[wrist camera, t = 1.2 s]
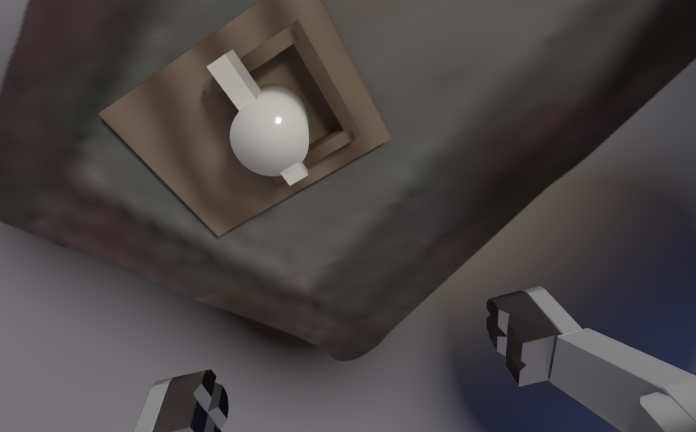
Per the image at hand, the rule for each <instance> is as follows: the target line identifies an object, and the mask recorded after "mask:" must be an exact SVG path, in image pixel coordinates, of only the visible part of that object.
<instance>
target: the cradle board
mask: <svg viewBox="0 0 696 432" xmlns="http://www.w3.org/2000/svg"><path fill="white" fill-rule="evenodd" d="M231 50H234V52H235V53H236V55H237V56H238V58H239V59H240V61H241V62H242V64H243V65H244V67H245V68H246V69H247V71H248V72H249V74H250V75H251V77H252V78H253V80H254V81H255V83H256V84H257V86H258V87H260V86H262V85H264V84H269V83H278V84H283V85H286V86H288V87H290V88H292V89H293V90H295V91H296V92H297V93H298V94H299V95H300V96H301V98H302V99H303V101H304V102H305V104H306V107H307V111H308V125H309V147H308V151H307V154H306V157H305V159H304V160H303V162H302V163H303V164H304V166H305V167H306V168H307V170H308V176H306V177H304V178H302V179H301V180H299V181H297V182H295V183H294V184H292V185H289V184H288V183H287V181H286V180H285V179H284V177H283V176H282V175H280V176H264V175H260V174H258V173H255V172H253V171H251V170H249V169H248V168H246V167H245V166H244V165H243V164H242V163H241V162H240V161H239V160H238V158H237V157H236V155H235V154H234V152H233V149H232V147H231V143H230V129H231V125H232V122H233V120H234V119H235V117H236V115H237V114H238V112H239V110H238V109H237V107H236V106H235V105H234V103H233V102H232V101H231V99H230V98H229V97H228V95H227V94H226V93H225V91H224V90H223V88H222V87H221V86H220V84H219V83H218V82H217V80H216V79H215V78H214V76H213V75H212V74H211V72H210V71H209V70H208V68H207V66H208V65H210V64H211V63H213V62H214V61H216V60H217V59H218V58H220V57H221V56H223V55H224V54H226V53H228V52H229V51H231ZM98 115H99V116H100V117H101V118H102V119H103V120H104V121H105V122H106V123H107V124H108V125H109V126H110V127H111V128H112V129H113V130H114V131H115V132H116V133H117V134H118V135H119V136H120V137H121V138H122V139H123V140H124V141H125V142H126V143H127V144H128V145H129V146H130V147H131V148H132V149H133V150H134V151H135V152H136V153H137V154H138V155H139V156H140V157H141V158H142V159H143V160H144V161H145V162H146V163H147V165H148V166H149V167H150V168H151V169H152V170H153V171H154V172H155V173H156V174H157V175H158V176H159V177H160V178H161V179H162V180H163V181H164V182H165V183H166V184H167V185H168V186H169V187H170V188H171V189H172V190H173V191H174V192H175V193H176V194H177V195H178V196H179V197H180V198H181V199H182V200H183V201H184V202H185V203H186V204H187V205H188V206H189V207H190V208H191V209H192V210H193V211H194V212H195V213H196V215H197V216H198V217H199V218H200V219H201V220H202V221H203V222H204V223H205V224H206V225H207V226H208V227H209V228H210V229H211V230H212V231H213V232H214V233H215V234H216V235H217V236H218V237H219V236H220V235H222V234H224V233H226V232H227V231H229V230H231V229H233V228H234V227H236V226H238V225H240V224H241V223H243V222H245V221H247V220H249V219H250V218H252V217H254V216H256V215H257V214H259V213H261V212H263V211H264V210H266V209H268V208H270V207H271V206H273V205H275V204H277V203H279V202H280V201H282V200H284V199H286V198H287V197H289V196H291V195H293V194H294V193H296V192H298V191H300V190H301V189H303V188H305V187H307V186H309V185H310V184H312V183H314V182H316V181H317V180H319V179H321V178H323V177H324V176H326V175H328V174H330V173H331V172H333V171H335V170H337V169H338V168H340V167H342V166H344V165H346V164H347V163H349V162H351V161H353V160H354V159H356V158H358V157H360V156H361V155H363V154H365V153H367V152H368V151H370V150H372V149H374V148H376V147H377V146H379V145H381V144H383V143H384V142H386V141H388V140H390V139H391V137H390V135H389V133H388V131H387V129H386V127H385V125H384V123H383V121H382V119H381V117H380V115H379V113H378V111H377V109H376V107H375V105H374V103H373V101H372V99H371V97H370V95H369V93H368V91H367V90H366V88H365V86H364V84H363V82H362V80H361V78H360V76H359V74H358V72H357V70H356V68H355V66H354V64H353V62H352V60H351V58H350V56H349V54H348V52H347V50H346V48H345V46H344V44H343V42H342V40H341V38H340V36H339V34H338V32H337V31H336V29H335V27H334V25H333V23H332V21H331V19H330V17H329V15H328V13H327V11H326V9H325V7H324V5H323V3H322V1H321V0H261V1H259V2H258V3H256V4H255V5H253V6H252V7H250V8H249V9H248V10H246V11H245V12H243V13H242V14H240V15H239V16H238V17H236V18H235V19H233V20H232V21H230V22H229V23H228V24H226V25H225V26H223V27H222V28H220V29H219V30H218V31H216V32H215V33H213V34H212V35H210V36H209V37H208V38H206V39H205V40H203V41H202V42H200V43H199V44H198V45H196V46H195V47H193V48H192V49H190V50H189V51H188V52H186V53H185V54H183V55H182V56H180V57H179V58H178V59H176V60H175V61H173V62H172V63H170V64H169V65H168V66H166V67H165V68H163V69H162V70H160V71H159V72H158V73H156V74H155V75H153V76H152V77H150V78H149V79H148V80H146V81H145V82H143V83H142V84H140V85H139V86H138V87H136V88H135V89H133V90H132V91H130V92H129V93H128V94H126V95H125V96H123V97H122V98H120V99H119V100H117V101H116V102H115V103H113V104H112V105H110V106H109V107H107V108H106V109H105V110H103V111H102V112H100V113H99V114H98Z"/></svg>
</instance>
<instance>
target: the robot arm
mask: <svg viewBox="0 0 696 432" xmlns="http://www.w3.org/2000/svg"><path fill="white" fill-rule="evenodd" d="M487 310H488V311H489V313H490V315H489V317H488V318H487V330H488V333H489V337H490V339H491V341H492V343H493V345H494V347H495V349H496V350H497V352H499V353H501V354H502V355H504V356H506V364H505V365H506V367H507V369H508V370H509V371H510V373H511V375H512V377H513V378H514V380H515V381H516V383H517V385H518V386H523V385H527V384H532V383H537V382H541V381H545V380H550V382H551V383H552V384H554V385H555V386H557V387H558V388H560V389H561V390H563V391H564V392H565V393H567V394H568V395H570V396H571V397H573V398H574V399H576V400H577V401H578V402H580V403H581V404H583V405H584V406H586V407H587V408H589V409H590V410H592V411H593V412H594V413H596V414H597V415H599V416H600V417H602V418H603V419H604V420H606V421H607V422H609V423H610V424H612V425H613V426H615V427H616V428H618V429H619V430H620V431H622V432H696V376H695V375H692V374H690V373H688V372H685V371H683V370H681V369H679V368H677V367H674V366H672V365H670V364H668V363H665V362H663V361H661V360H658V359H656V358H654V357H652V356H650V355H647V354H645V353H643V352H641V351H638V350H636V349H634V348H631V347H629V346H627V345H625V344H623V343H620V342H618V341H616V340H614V339H611V338H609V337H607V336H604V335H602V334H600V333H598V332H596V331H593V330H591V329H589V328H587V329H582V328H581V327H580V326H579V325H578V324H577V323H576V322H575V321H574V320H573V319H572V318H571V317H570V315H569V314H568V313H567V312H566V311H565V310H564V309H563V308H562V307H561V306H560V305H559V304H558V303H557V302H556V301H555V300H554V298H553V297H552V296H551V295H550V294H549V293H548V292H547V291H546V290H545V289H544V288H543V287H541V286H539V287H534V288H530V289H526V290H523V291H517V292H513V293H510V294H506V295H502V296H499V297H494V298H491V299H488V301H487ZM215 380H216V375H215V374H214V373H213V372H212V370H205V371H201V372H197V373H192V374H187V375H183V376H179V377H174V378H170V379H166V380H162V381H157V382H155V384H154V385H153V386H152V387H151V389H150V392H149V394H148V397H147V399H146V402H145V404H144V407H143V409H142V412H141V414H140V417H139V419H138V422H137V425H136V427H135V430H134V432H221V430H220V429H221V427H222V426H223V424H224V423H225V422H226V420H227V416H228V409H229V407H228V396H227V394H226V390H225V389H224V387H223V386H222V385H220V384H217V383H215Z"/></svg>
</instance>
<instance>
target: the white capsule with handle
mask: <svg viewBox="0 0 696 432" xmlns="http://www.w3.org/2000/svg"><path fill="white" fill-rule="evenodd" d="M207 68H208V70H209V71H210V72H211V74H212V75H213V76H214V78H215V79H216V80H217V82H218V83H219V84H220V86H221V87H222V88H223V90H224V91H225V93H226V94H227V95H228V97H229V98H230V99H231V101H232V102H233V103H234V105H235V106H236V107H237V109H238V110H239V112H238V114H237V115H236V117H235V119H234V120H233V122H232V125H231V129H230V143H231V147H232V149H233V152H234V154H235V155H236V157H237V158H238V160H239V161H240V162H241V163H242V164H243V165H244V166H245V167H246V168H248V169H249V170H251V171H253V172H255V173H258V174H260V175H264V176H280V175H282V176H283V177H284V179H285V180H286V181H287V183H288V184H289V185H292V184H294V183H295V182H297V181H299V180H301V179H302V178H304V177H306V176H308V170H307V168H306V167H305V166H304V164H303V163H302V162H303V160H304V159H305V157H306V154H307V151H308V147H309V125H308V111H307V107H306V104H305V102H304V101H303V99H302V98H301V96H300V95H299V94H298V93H297V92H296V91H295V90H293V89H292V88H290V87H288V86H286V85H283V84H278V83H269V84H264V85H262V86H260V87H258V86H257V84H256V83H255V81H254V80H253V78H252V77H251V75H250V74H249V72H248V71H247V69H246V68H245V67H244V65H243V64H242V62H241V61H240V59H239V58H238V56H237V55H236V53H235V52H234V50H231V51H229V52H228V53H226V54H224V55H223V56H221V57H220V58H218V59H217V60H216V61H214V62H213V63H211V64H210V65H208V66H207Z"/></svg>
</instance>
